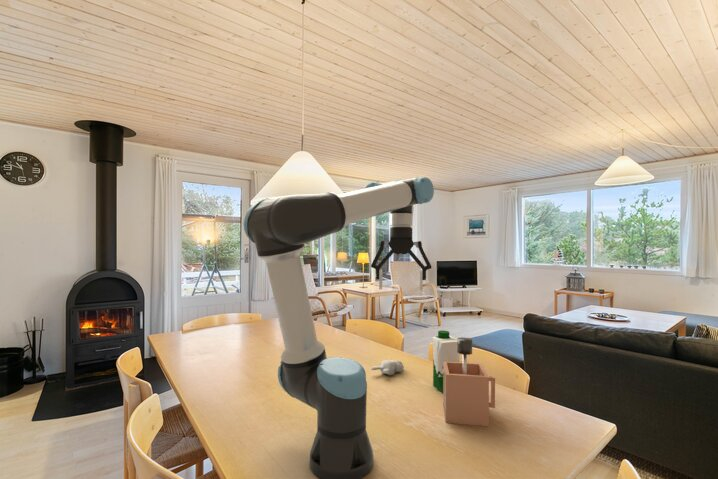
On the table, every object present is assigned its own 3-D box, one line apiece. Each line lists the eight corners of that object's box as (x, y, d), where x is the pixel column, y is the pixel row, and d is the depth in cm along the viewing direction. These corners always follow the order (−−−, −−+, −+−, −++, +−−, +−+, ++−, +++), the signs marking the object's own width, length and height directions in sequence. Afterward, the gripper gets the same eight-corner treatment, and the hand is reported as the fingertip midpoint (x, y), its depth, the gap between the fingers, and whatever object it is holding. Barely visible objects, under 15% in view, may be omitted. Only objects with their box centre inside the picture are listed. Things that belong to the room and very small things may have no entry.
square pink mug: (498, 427, 103) (499, 378, 103) (445, 422, 105) (446, 374, 105) (490, 408, 115) (490, 364, 115) (443, 404, 117) (443, 361, 117)
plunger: (481, 418, 105) (482, 344, 105) (450, 416, 107) (451, 342, 107) (477, 405, 114) (477, 336, 114) (448, 403, 115) (448, 335, 115)
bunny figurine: (409, 361, 148) (389, 366, 136) (408, 373, 147) (388, 380, 136) (389, 356, 154) (369, 361, 142) (389, 368, 153) (368, 374, 141)
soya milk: (450, 382, 135) (451, 329, 135) (464, 392, 126) (464, 335, 127) (429, 385, 133) (429, 330, 133) (441, 395, 124) (441, 337, 124)
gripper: (438, 227, 123) (437, 289, 123) (366, 227, 128) (365, 287, 127) (439, 226, 116) (439, 291, 116) (363, 226, 120) (362, 289, 120)
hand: (400, 289), depth 122 cm, fingers open, 13 cm apart
